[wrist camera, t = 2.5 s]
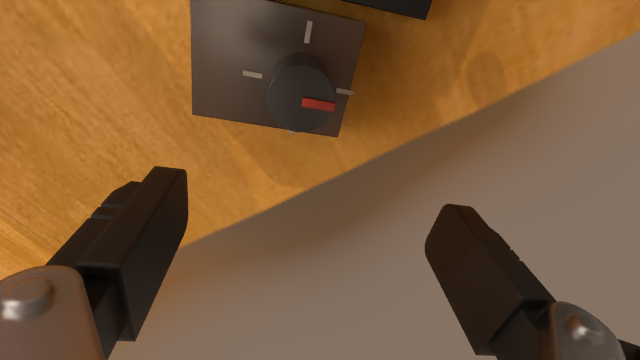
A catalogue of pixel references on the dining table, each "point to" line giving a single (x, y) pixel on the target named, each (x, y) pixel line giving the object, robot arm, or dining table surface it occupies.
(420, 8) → the lamp base
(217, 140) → the dining table surface
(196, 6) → the dimmer panel
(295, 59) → the dimmer knob
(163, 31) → the dining table surface
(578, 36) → the dining table surface
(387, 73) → the dining table surface
